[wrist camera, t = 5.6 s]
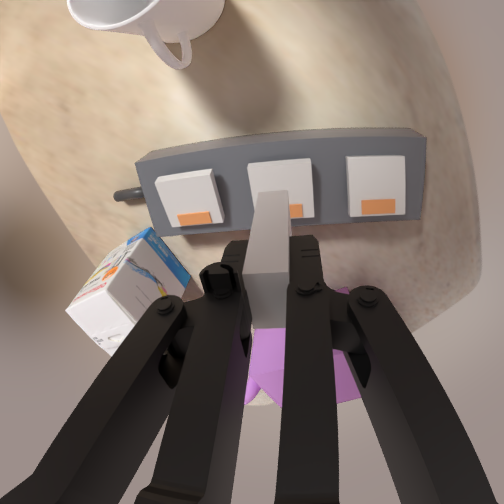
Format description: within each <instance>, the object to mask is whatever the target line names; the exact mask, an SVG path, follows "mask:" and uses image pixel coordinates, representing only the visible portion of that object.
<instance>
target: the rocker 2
mask: <svg viewBox="0 0 504 504" xmlns="http://www.w3.org/2000/svg"><path fill="white" fill-rule="evenodd" d="M247 170H248V176H249V182H250V187H251V193H252V199H253V205H254V211H255V207H256V202H257V197H258V192H268V191H280V190H288V197H289V207H290V218H291V219H295V218H311V217H314V200H313V183H312V168H311V160H310V158H305V159H291V160H279V161H268V162H257V163H248V167H247Z"/></svg>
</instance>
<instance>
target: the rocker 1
mask: <svg viewBox="0 0 504 504" xmlns="http://www.w3.org/2000/svg"><path fill="white" fill-rule="evenodd" d="M155 186H156V188H157V191H158V193H159V196H160V199H161V201H162V204H163V206H164V209H165V211H166V214H167V216H168V218H169V221H170V223H171V226H172V227H181V226H192V225H203V224H214V223H223V222H224V218H225V214H224V211H223V207H222V203H221V199H220V196H219V192H218V188H217V185H216V181H215V177H214V173H213V170H212V169H205V170H198V171H191V172H185V173H178V174H172V175H166V176H160V177H158V178H157V179H156V181H155Z"/></svg>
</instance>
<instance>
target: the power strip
mask: <svg viewBox="0 0 504 504" xmlns="http://www.w3.org/2000/svg"><path fill="white" fill-rule="evenodd" d="M365 155H402V156H405V214H404V215H381V216H360V217H350V216H349V214H348V194H347V174H346V158H345V156H365ZM305 158H310V160H311V168H312V183H313V200H314V217H311V218H295V219H291V227H292V226H308V225H324V224H341V223H359V222H378V221H399V220H420V217H421V209H422V200H423V189H424V177H425V162H426V137H425V136H423V135H421V134H419V133H418V132H416V131H414V130H412V129H410V128H333V129H313V130H298V131H285V132H274V133H264V134H255V135H246V136H238V137H231V138H224V139H217V140H210V141H204V142H198V143H192V144H186V145H181V146H175V147H170V148H165V149H160V150H155V151H151V152H150V153H148V154H147V155H145V156H144V157H143V158H141V159H140V160H138V161H137V162H135V166H136V170H137V173H138V177H139V180H140V184H141V187H137V188H131V189H126V190H120V191H116V192H115V193H114V196H113V197H114V200H115V201H118V202H119V201H125V200H131V199H137V198H144V197H145V201H146V204H147V207H148V210H149V214H150V217H151V220H152V223H153V226H154V229H155V232H156V235H157V237H164V236H176V235H187V234H199V233H211V232H224V231H236V230H250V229H251V227H252V222H253V217H254V212H255V211H254V205H253V199H252V193H251V187H250V182H249V176H248V170H247V167H248V163H257V162H268V161H279V160H291V159H305ZM205 169H212V170H213V173H214V177H215V181H216V185H217V188H218V192H219V196H220V199H221V203H222V207H223V211H224V214H225V218H224V222H223V223H214V224H203V225H192V226H181V227H172V226H171V223H170V221H169V218H168V216H167V214H166V211H165V209H164V206H163V204H162V201H161V199H160V196H159V193H158V191H157V188H156V186H155V181H156V179H157V178H158V177H160V176H166V175H172V174H178V173H185V172H191V171H198V170H205Z"/></svg>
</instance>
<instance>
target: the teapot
mask: <svg viewBox="0 0 504 504" xmlns="http://www.w3.org/2000/svg"><path fill="white" fill-rule="evenodd" d="M334 291H336V292H340V293H345V294H349V291H348V288H347V287H344V288H341V289H338V290H334ZM285 331H286V328H270V329H255V333H254V340H253V347H252V355H251V362H250V369H249V378H248V381H247V386H246V394H245V402H244V405H246V404H248V403H249V402H250V401H252V400H253V399H254V398H255V396H256V395H257V394H258V392H259V390H260V389H261V388H262V389H263V390H264V391H265V392H266V393H267V394H268V396H269V397H270V398H271V399H272V400H273V401H275V402H276V403H277V404H278V405H279V406H280V407H281V408H282V397H283V378H284V356H285ZM333 359H334V371H335V385H336V401H337V404H338V403H342V402H346V401H350V400H353V399H357V398H361V395H360V393H359V390H358V388H357V385H356V383H355V380H354V378H353V376H352V373H351V371H350V368H349V366H348V364H347V361H346V359H345V356H344V354H343V351H340V350H335V349H333Z"/></svg>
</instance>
